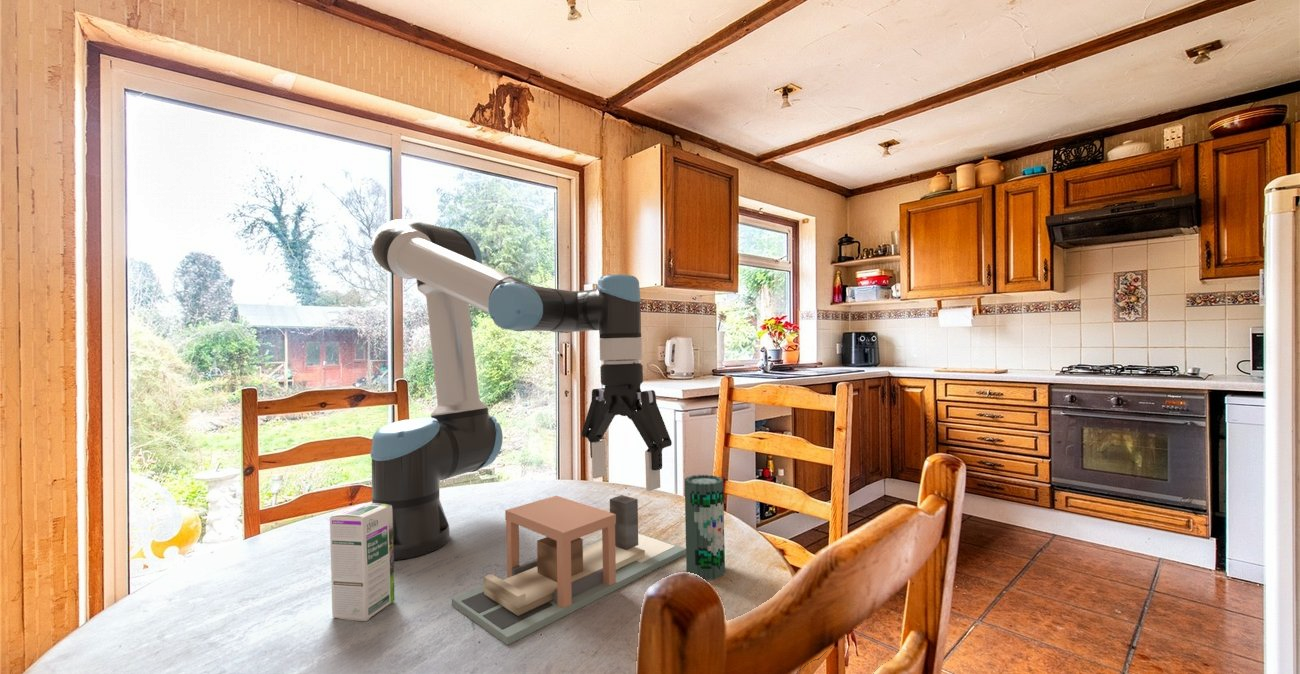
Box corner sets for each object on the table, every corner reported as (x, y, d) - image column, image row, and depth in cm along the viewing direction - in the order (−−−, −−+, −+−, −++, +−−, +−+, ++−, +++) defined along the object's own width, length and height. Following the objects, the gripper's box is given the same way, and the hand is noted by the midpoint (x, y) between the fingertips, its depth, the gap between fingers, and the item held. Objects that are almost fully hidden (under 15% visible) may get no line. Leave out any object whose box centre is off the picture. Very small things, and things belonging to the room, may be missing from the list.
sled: (484, 594, 74) (483, 532, 74) (613, 541, 93) (612, 492, 93) (518, 615, 68) (517, 548, 68) (648, 554, 87) (647, 502, 87)
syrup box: (366, 622, 69) (365, 516, 69) (329, 618, 70) (329, 514, 71) (395, 601, 75) (394, 503, 75) (361, 598, 76) (360, 501, 76)
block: (537, 572, 79) (537, 540, 79) (563, 562, 82) (562, 531, 82) (557, 582, 75) (556, 548, 75) (583, 571, 79) (582, 538, 79)
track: (451, 605, 73) (450, 525, 74) (626, 533, 100) (625, 475, 100) (507, 645, 63) (506, 553, 63) (686, 554, 90) (684, 489, 90)
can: (706, 582, 79) (704, 486, 79) (679, 570, 83) (677, 479, 84) (731, 570, 83) (729, 479, 83) (704, 559, 87) (702, 472, 88)
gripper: (689, 361, 84) (694, 489, 83) (591, 361, 101) (594, 468, 100) (659, 363, 78) (664, 500, 78) (561, 363, 95) (564, 476, 95)
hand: (625, 482), depth 89 cm, fingers open, 13 cm apart
